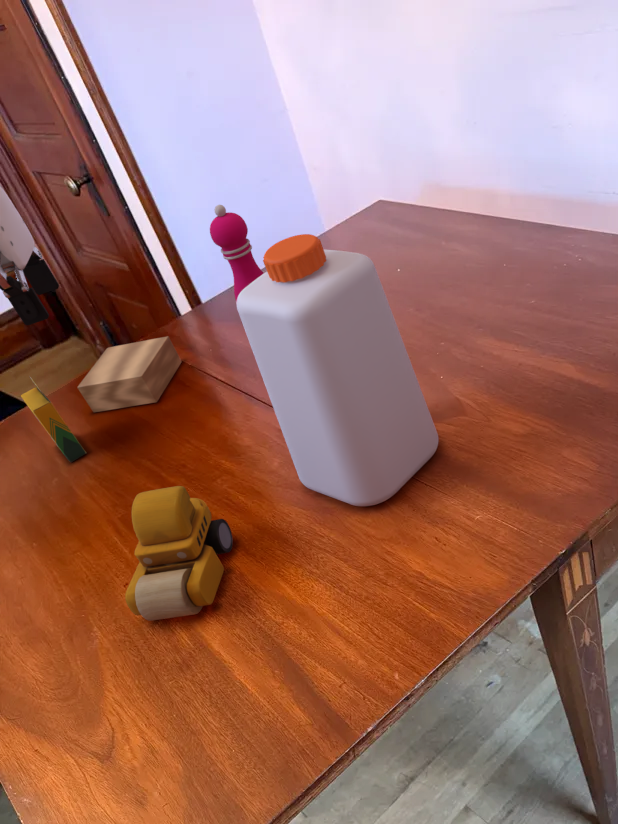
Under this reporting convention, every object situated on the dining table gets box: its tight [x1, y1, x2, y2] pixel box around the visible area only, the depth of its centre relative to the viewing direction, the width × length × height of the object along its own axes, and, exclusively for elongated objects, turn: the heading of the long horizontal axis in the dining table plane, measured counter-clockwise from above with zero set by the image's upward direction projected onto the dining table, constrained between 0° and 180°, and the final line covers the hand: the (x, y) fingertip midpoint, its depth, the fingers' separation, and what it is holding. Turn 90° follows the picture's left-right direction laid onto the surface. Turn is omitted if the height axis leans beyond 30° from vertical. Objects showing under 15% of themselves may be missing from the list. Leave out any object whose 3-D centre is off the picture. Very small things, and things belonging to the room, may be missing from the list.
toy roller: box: [124, 485, 234, 622], centre depth 82 cm, size 9×14×10 cm, turn 177°
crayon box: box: [20, 375, 87, 463], centre depth 111 cm, size 7×3×12 cm, turn 36°
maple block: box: [77, 335, 183, 413], centre depth 123 cm, size 12×12×5 cm
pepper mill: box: [209, 204, 265, 303], centre depth 124 cm, size 7×7×20 cm
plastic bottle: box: [235, 233, 439, 507], centre depth 83 cm, size 15×15×28 cm
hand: (43, 305), depth 98 cm, fingers open, 9 cm apart
